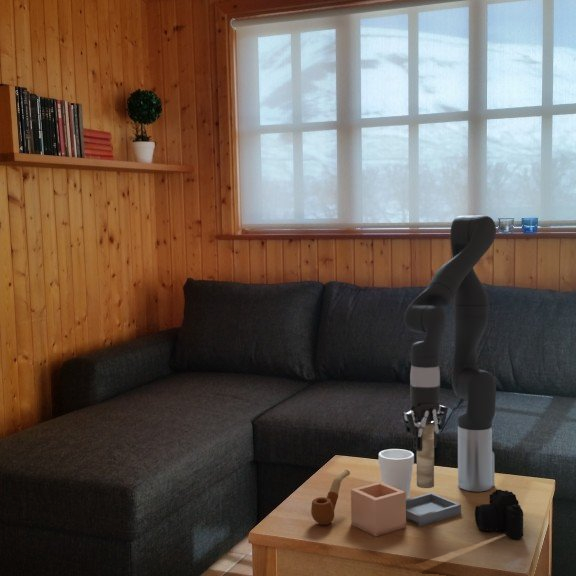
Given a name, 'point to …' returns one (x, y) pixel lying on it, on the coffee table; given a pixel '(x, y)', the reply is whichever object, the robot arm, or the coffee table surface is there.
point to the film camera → (501, 514)
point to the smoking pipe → (327, 502)
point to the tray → (430, 509)
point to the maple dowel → (426, 458)
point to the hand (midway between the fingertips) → (425, 448)
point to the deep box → (378, 508)
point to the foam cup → (397, 468)
